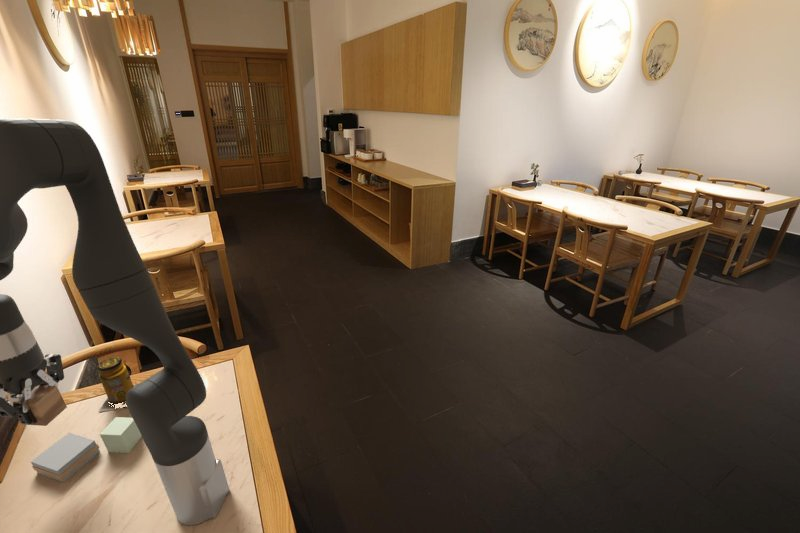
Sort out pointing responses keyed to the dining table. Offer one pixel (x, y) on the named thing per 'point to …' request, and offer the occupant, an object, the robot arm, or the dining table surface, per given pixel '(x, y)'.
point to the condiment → (114, 382)
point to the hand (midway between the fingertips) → (43, 412)
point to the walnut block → (46, 404)
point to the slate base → (65, 457)
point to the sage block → (121, 435)
